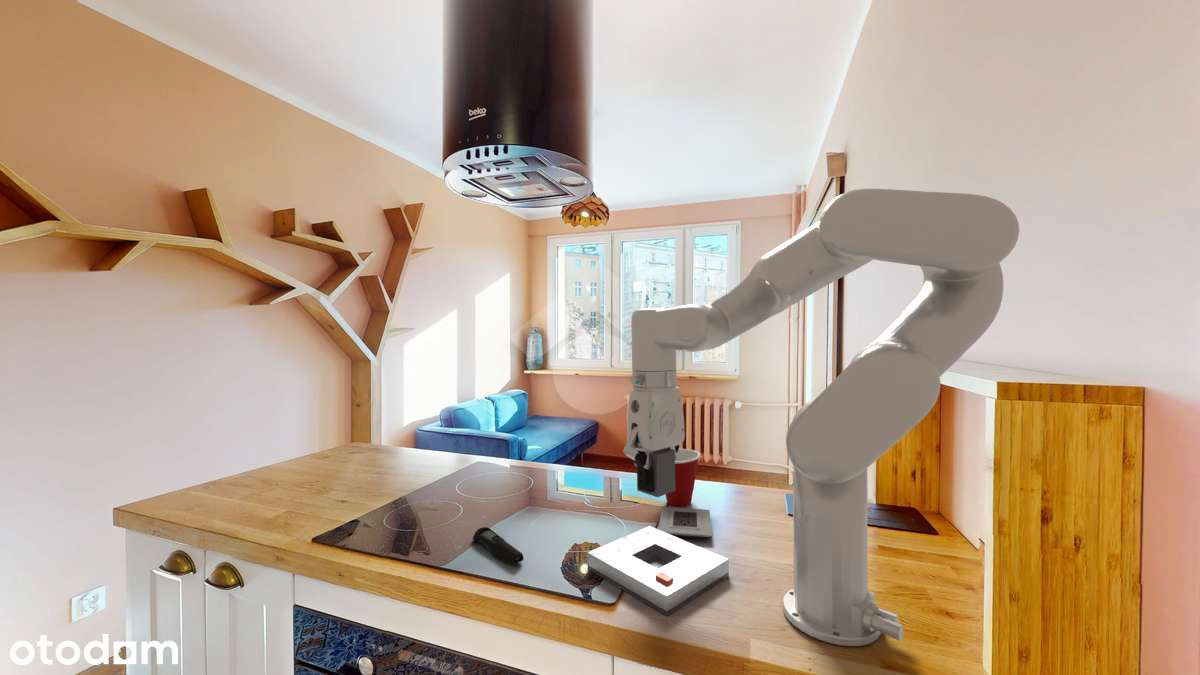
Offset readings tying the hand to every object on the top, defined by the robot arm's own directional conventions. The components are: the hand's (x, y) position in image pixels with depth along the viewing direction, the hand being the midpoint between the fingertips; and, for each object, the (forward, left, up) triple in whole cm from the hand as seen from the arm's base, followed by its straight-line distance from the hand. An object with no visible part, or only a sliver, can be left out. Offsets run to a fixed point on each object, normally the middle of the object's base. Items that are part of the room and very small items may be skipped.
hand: (656, 485), depth 78 cm
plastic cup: (+18, -28, -15) cm, 37 cm away
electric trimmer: (+26, +16, -16) cm, 34 cm away
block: (0, 0, -1) cm, 1 cm away
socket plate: (0, 0, -15) cm, 15 cm away
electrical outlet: (+8, -18, -16) cm, 25 cm away
